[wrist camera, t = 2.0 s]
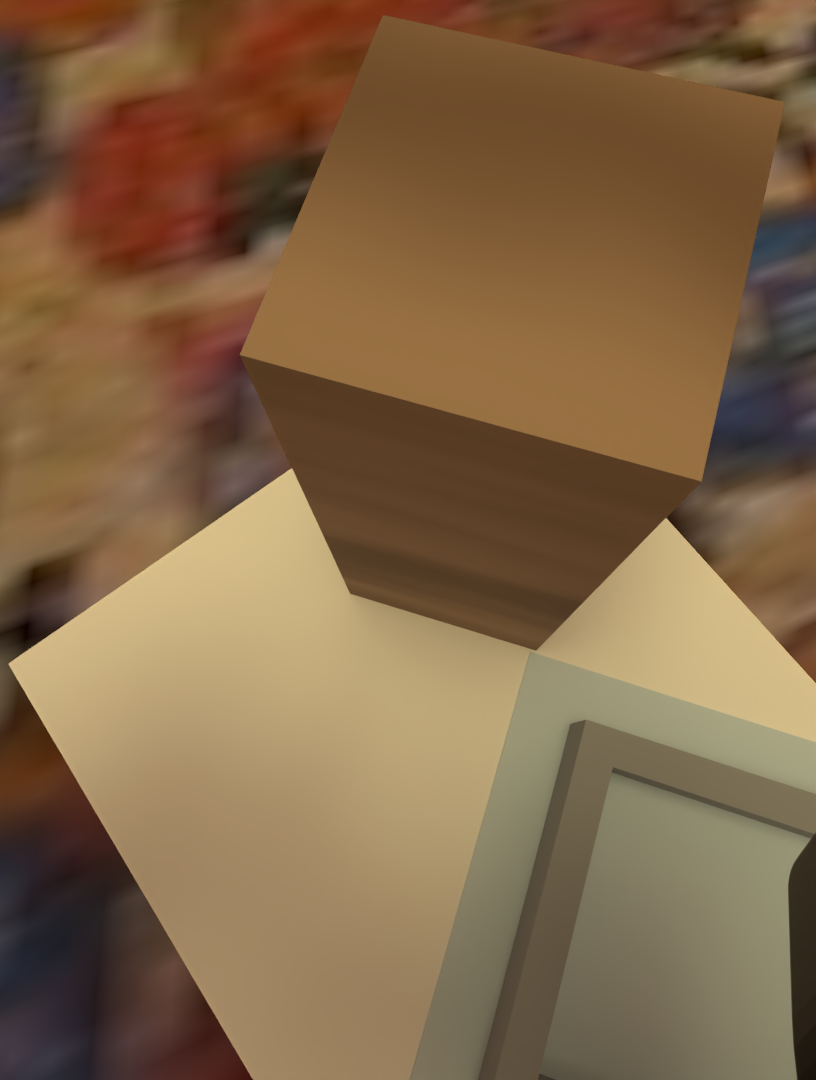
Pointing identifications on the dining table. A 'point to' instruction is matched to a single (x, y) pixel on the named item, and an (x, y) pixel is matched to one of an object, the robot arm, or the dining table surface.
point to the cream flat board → (448, 811)
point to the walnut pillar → (508, 319)
